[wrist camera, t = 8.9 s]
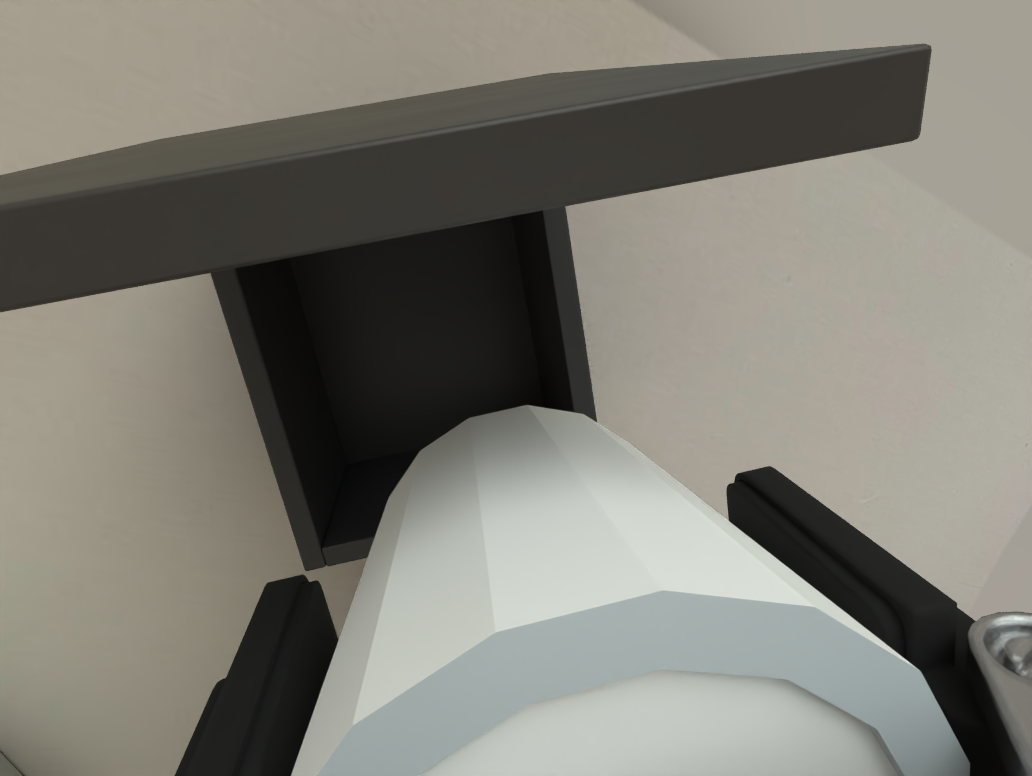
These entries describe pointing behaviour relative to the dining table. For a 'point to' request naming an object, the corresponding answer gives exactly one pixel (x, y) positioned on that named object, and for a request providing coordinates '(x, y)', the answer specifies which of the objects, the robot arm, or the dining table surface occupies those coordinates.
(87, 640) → the dining table surface
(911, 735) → the grey white cylinder
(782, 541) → the robot arm
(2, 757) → the bowl
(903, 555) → the dining table surface
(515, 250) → the chest
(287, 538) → the dining table surface
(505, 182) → the lid
